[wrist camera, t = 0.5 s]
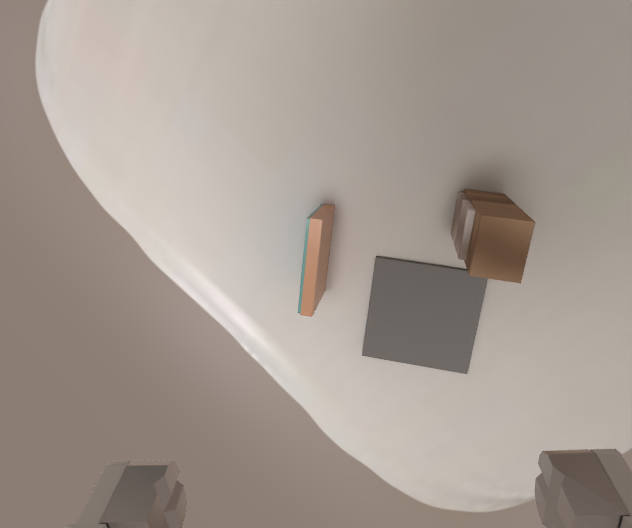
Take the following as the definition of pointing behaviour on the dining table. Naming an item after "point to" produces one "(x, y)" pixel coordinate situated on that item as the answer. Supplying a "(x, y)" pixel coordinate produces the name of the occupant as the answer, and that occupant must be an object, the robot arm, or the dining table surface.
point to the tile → (315, 258)
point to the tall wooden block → (491, 235)
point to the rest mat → (423, 314)
